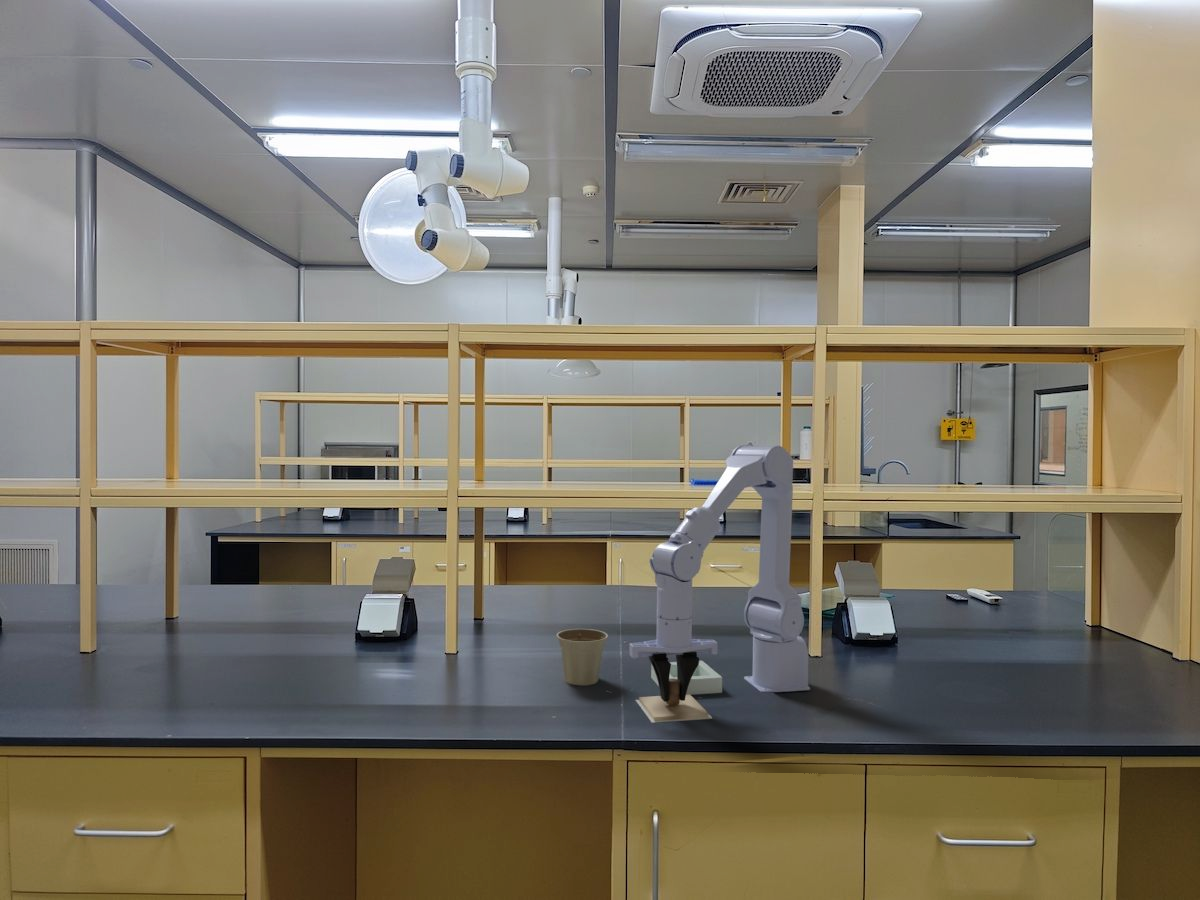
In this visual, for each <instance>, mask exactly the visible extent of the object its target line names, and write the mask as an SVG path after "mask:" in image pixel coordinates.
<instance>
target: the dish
mask: <svg viewBox="0 0 1200 900" xmlns="http://www.w3.org/2000/svg"><path fill="white" fill-rule="evenodd" d="M669 662H670V661H669ZM670 663H671V668H670V674H669V679H677V661H671V662H670ZM650 664H651V667H650V668H651V671H650V672H651V673H650V674H651V675H650V678H651V679H652V680H653V681H654V683H655V684H656V685H657V686H658V687H659V684H658V680H657V676H656V674H655V671H654V668H653V666H652V663H651V662H650ZM721 693H723V677H722V675H720V674H719V673H718V672H716V671H715V670H714V669H713V668H711V667H710V666H709V664H707V663H705V661H703V660H699V665H698V666H697V668H696V670H695V671H694V673H693V675H692V678H691V680H690V683H689V686H688V689H687V693H686V694H690V695H691V696H692V695H707V694H709V695H710V694H721Z"/></svg>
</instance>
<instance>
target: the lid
mask: <svg viewBox="0 0 1200 900" xmlns="http://www.w3.org/2000/svg"><path fill="white" fill-rule="evenodd" d="M638 700H639V701H640V703H641V704H642V705H643V707H644V708H645V710H646V711H647V712H648V714H649V715H650V716H651V718H652V719H653V720H654V721H662V720H677V719H691V718H706V717H709V715H710V714H709V713H708V711H707V710H706V709H705V708H704V707H703V706H702V704H700V703H699V702H698V701H697V700H696V699H695V698H694V697H693V696H692V695H690V694H686V697H685V700H684V701H681V700H680V680H678V679H669V701H668V702H664V701H663V700H662V698H661V695H655V696H639V697H638Z"/></svg>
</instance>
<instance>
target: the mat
mask: <svg viewBox="0 0 1200 900" xmlns="http://www.w3.org/2000/svg"><path fill="white" fill-rule="evenodd" d="M635 702H636V703H637V705H639V707H640V708H641V711H642V712H643V713H644V714H645V715H646V717H647V718H648V719H649V721H650V722H651V724H654V723H669V722H670V723H671V722H680V721H681V722H682V721H683V722H684V721H697V720H711V719H713V717H712V716H711V715H710V714H709V717H706V718H691V719H677V720H662V721H654V720H653V719H652V718H651V716H650V715H649V714H648V712H647V711H646V710H645V708H644V707H643V705H642V704H641V703H640V701H639V699H635Z"/></svg>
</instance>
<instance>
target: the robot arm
mask: <svg viewBox="0 0 1200 900" xmlns="http://www.w3.org/2000/svg"><path fill="white" fill-rule="evenodd" d="M793 474H794V458H793V457H792V456H791V455H790V453H789V452H788V451H787V450H786V448H784V447H783V446H782V445H773V446H754V445H753V446H751V445H749V446H747V445H738V446H736V447H735V448H733V450H732V452H731V454H730V455H729V456H728V457H727V458H726V460H725V470H724V472H723V473H722V474H721V477H720V478H719V479H718V481H717V483H716V484H715V486H714V487H713V488H712V491H710V494H709V495H708V497H707V498H706V499H705V501H704V503H703V504H702V506H698V507H697V506H696V507H692V508H691V509H690V510H688V511H687V512H686V513H685V515H684V516H685V518H684V519H683V520H682V521H681V523H680V524H679V526H678V527H677V528H676V529H675V531H674V532H672V534H671V535H670V536H669V539H668V541H664V542H661V543H659V544H658V546H656V547H655V549H654V550H653V552H652V555H651V558H649V566H650V568H651V570H652V573H654V581H655V582H654V583H655V584H656V634H655V635H656V637H655V638H656V639H652V640H647V641H645V640H644V641H641V642H630V643H629V645H628V646H629V647H628V648H629V653H628V654H629V656H630V658H632V659H639V658H640V657H643V658H644V657H648V659H649V661H650V664H651V663H652V666H653V668H654V671H655V674H656V676H657V680H658V684H659V686H658V688H659V693H660V696H661V698H662V700H663V701H664V702H668V701H669V674H670V668H671V663H670V661H669V657H667V656H675V658H676V660H675V662H677V679H678V680H680V700H681V701H684V700H685V697H686V693H687V689H688V686H689V683H690V680H691V678H692V675H693V673H694V671H695V670H696V668H697V666H698V665H699V661H700V658H699V657H698V655H700V654H710V655H718V646H719V645H718V642H717V641H716V640H714V639H696V638H695V639H694V638H692V627H693V625H692V623H693V622H692V620H693V619H692V618H693V617H692V616H693V614H692V611H693V610H692V609H693V608H692V606H693V579H694V578H695V577H696V575H698V573H700V569H701V565H702V559H703V557H704V551H705V550H706V549H707V548H708V546H709V545H710V543H711V542H712V541H713V540H714V538H715V536H717V533H718V532H719V531H720V529H721V523H720V522H721V521H720V518H721V517H722V515H723V514H724V513H725V512H726V511H727V510H728V508H729V507H730V506H731V505H732V503H734V501H735V500H736V499H737V498H738V497H739V495H740V494H741V493H742V492H743V491H744V489H746V488H749V487H750V488H753V489H754V491H755V492H756V493H757V494H758V495H759V496H760V497H761V513H760V514H761V515H760V517H761V518H760V535H759V538H760V539H759V540H760V542H759V561H758V562H759V563H758V566H759V567H758V582H757V583H756V584H754V585H753V587H751V588H750V589H749V590H748V593H747V595H748V597H747V602H746V604H745V607H744V609H743V619H744V623H745V625H746V626H747V627H748V628H749V633H750V635H752V675H748V676H747V675H746V676H744V677H743V679H744V680H745V681H746V682H747V683H749V684H750V685H752V686H753V687H754V688H755V689H756V690H758V691H760V693H782V692H783V693H784V692H785V693H786V692H787V693H788V692H798V691H799V692H801V691H811V686H809V650H808V646H807V643H806V641H805V639H804V638H803V637H802V636H800V634H801V633H802V631H803V628H804V626H805V625H804V624H805V616H804V613H803V608H802V597H801V596H800V595H799V593H798V592H797V591H796V590H795V589H794V588H793V587H792V586H791V585H790V571H791V570H790V569H791V544H792V542H791V541H792V524H793V523H792V518H793V517H792V516H793V515H792V514H793V495H794V494H793V492H794V491H793V490H794V489H793Z"/></svg>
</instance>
